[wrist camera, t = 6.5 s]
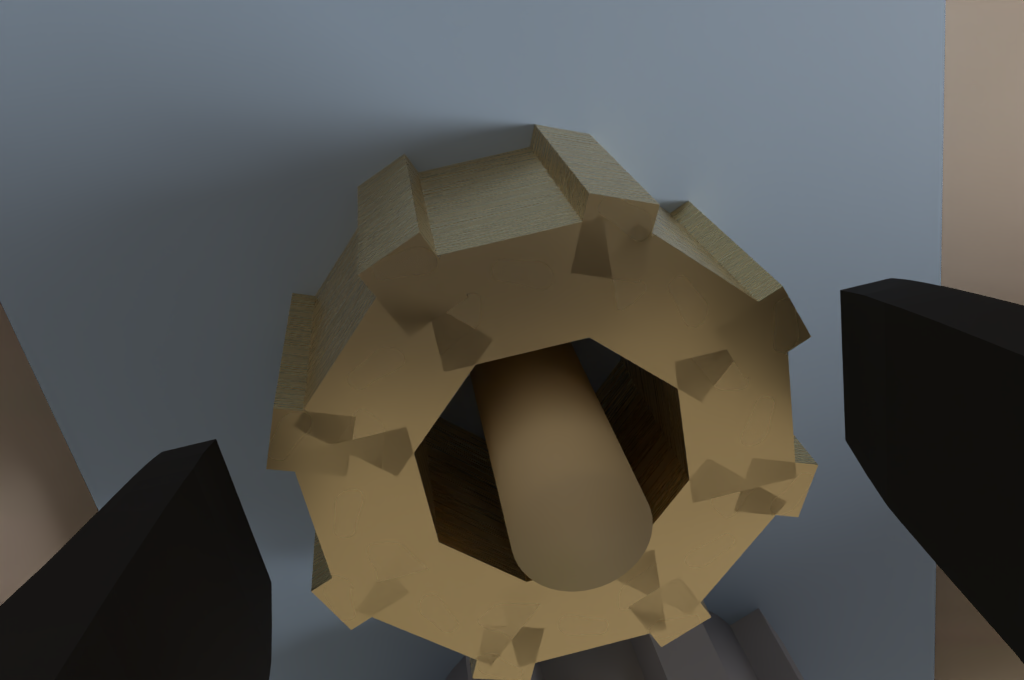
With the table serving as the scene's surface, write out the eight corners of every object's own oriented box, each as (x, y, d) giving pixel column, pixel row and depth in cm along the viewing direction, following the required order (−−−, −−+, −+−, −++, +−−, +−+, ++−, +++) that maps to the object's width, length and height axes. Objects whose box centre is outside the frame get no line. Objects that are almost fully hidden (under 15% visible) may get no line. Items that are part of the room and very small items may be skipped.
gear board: (890, -816, 9) (1428, -1538, 5) (899, 738, 19) (1076, 1011, 14) (-357, -599, 9) (-1189, -1181, 4) (311, 894, 18) (295, 1234, 14)
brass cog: (696, 87, 12) (801, 144, 9) (735, 470, 14) (826, 605, 11) (235, 192, 11) (198, 283, 9) (359, 563, 14) (360, 724, 11)
